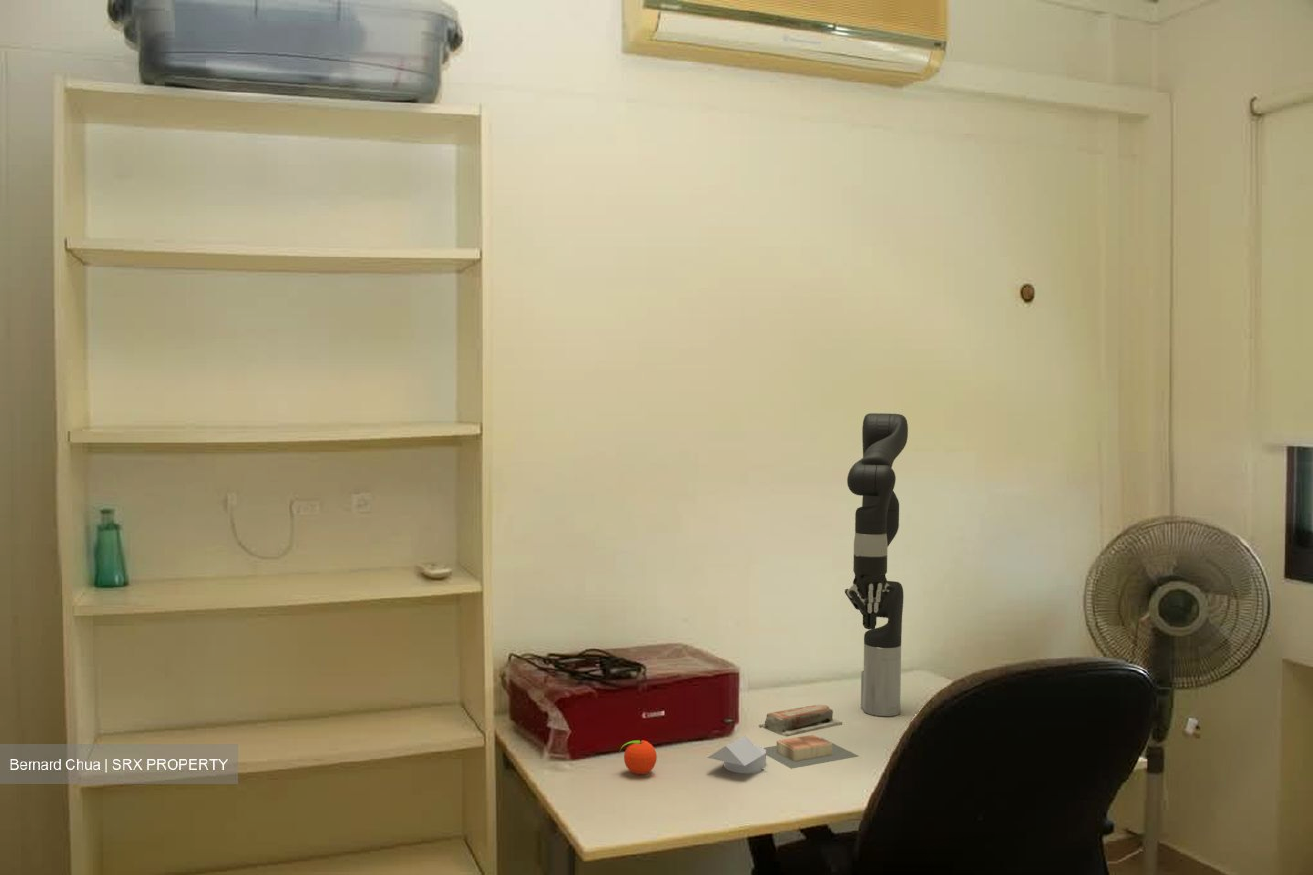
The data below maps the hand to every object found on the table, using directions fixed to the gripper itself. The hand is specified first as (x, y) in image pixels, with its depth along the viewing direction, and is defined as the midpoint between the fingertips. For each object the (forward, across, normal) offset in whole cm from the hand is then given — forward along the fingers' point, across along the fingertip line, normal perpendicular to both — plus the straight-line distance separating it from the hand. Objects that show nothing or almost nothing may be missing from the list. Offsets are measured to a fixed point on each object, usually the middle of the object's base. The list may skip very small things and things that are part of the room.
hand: (869, 628), depth 249 cm
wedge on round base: (+27, +34, 0) cm, 44 cm away
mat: (+27, +16, -1) cm, 31 cm away
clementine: (+27, +55, -7) cm, 62 cm away
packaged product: (+28, +6, -18) cm, 34 cm away
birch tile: (+25, +12, -1) cm, 28 cm away
